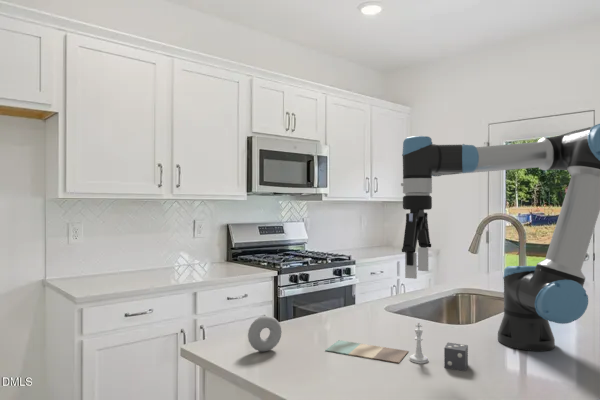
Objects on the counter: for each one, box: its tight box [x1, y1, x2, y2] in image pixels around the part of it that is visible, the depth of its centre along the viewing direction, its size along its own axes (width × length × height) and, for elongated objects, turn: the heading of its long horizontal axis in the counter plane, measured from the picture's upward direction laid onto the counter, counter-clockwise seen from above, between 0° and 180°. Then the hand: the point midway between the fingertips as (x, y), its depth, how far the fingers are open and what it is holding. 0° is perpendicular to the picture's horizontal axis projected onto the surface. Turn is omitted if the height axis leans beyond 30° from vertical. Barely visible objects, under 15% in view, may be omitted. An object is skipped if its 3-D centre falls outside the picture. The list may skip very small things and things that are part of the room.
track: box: [325, 339, 409, 364], centre depth 125 cm, size 21×10×1 cm, turn 62°
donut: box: [247, 315, 282, 353], centre depth 125 cm, size 10×3×10 cm, turn 117°
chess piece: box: [408, 322, 429, 364], centre depth 118 cm, size 5×5×10 cm
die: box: [443, 342, 469, 372], centre depth 113 cm, size 5×5×5 cm
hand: (417, 274), depth 118 cm, fingers open, 13 cm apart
